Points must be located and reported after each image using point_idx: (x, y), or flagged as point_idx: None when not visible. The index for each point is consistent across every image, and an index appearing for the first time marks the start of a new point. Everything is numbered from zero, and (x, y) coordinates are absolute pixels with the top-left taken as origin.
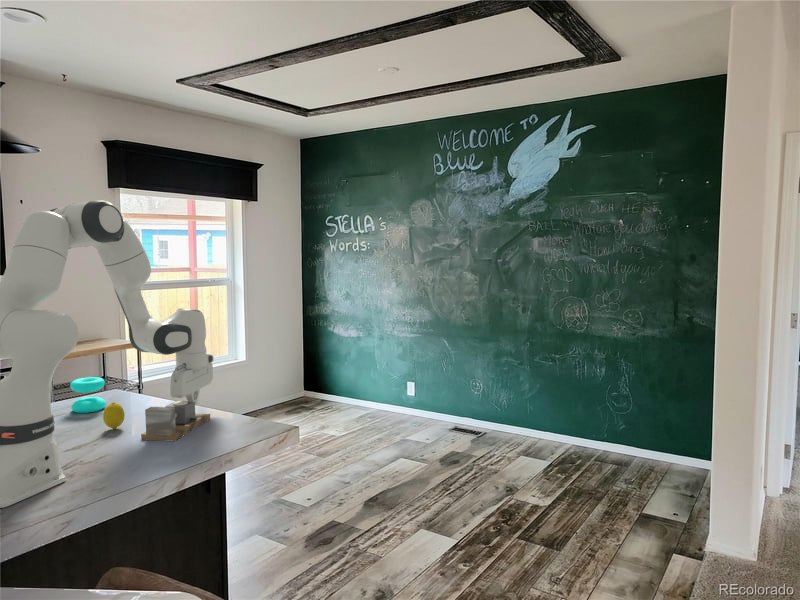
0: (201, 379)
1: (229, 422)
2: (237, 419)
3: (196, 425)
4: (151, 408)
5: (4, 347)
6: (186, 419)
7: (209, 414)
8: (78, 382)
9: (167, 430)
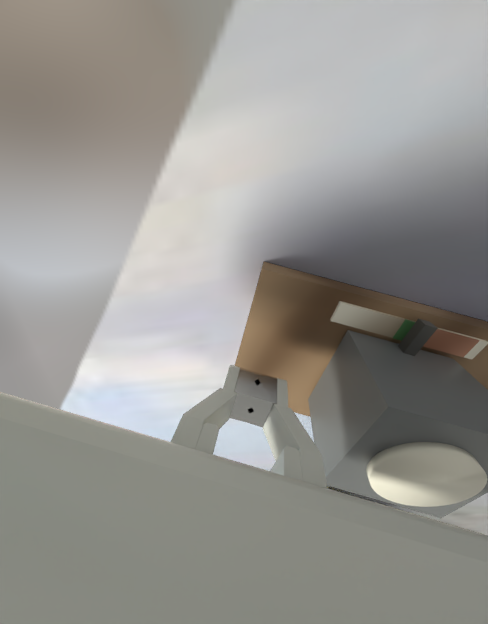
0: (95, 599)
1: (373, 107)
2: (308, 49)
3: (416, 305)
4: None
5: None
6: (455, 370)
7: (270, 270)
8: None
9: None
